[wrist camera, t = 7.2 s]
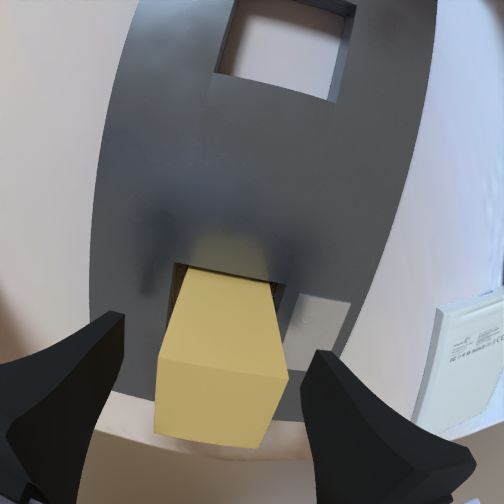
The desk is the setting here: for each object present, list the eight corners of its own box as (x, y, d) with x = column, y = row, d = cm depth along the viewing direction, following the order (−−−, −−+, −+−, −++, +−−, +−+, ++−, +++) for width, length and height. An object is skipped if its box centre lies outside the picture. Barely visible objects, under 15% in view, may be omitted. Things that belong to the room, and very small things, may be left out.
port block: (102, 368, 16) (94, 386, 15) (185, -73, 8) (180, -90, 7) (302, 404, 17) (306, 423, 16) (423, -7, 10) (439, -17, 8)
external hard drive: (403, 430, 20) (432, 301, 16) (479, 399, 20) (517, 275, 16) (410, 444, 19) (446, 315, 15) (487, 410, 19) (531, 285, 15)
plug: (181, 320, 15) (153, 433, 8) (192, 256, 14) (158, 356, 7) (249, 333, 15) (257, 449, 9) (266, 272, 14) (289, 378, 8)
